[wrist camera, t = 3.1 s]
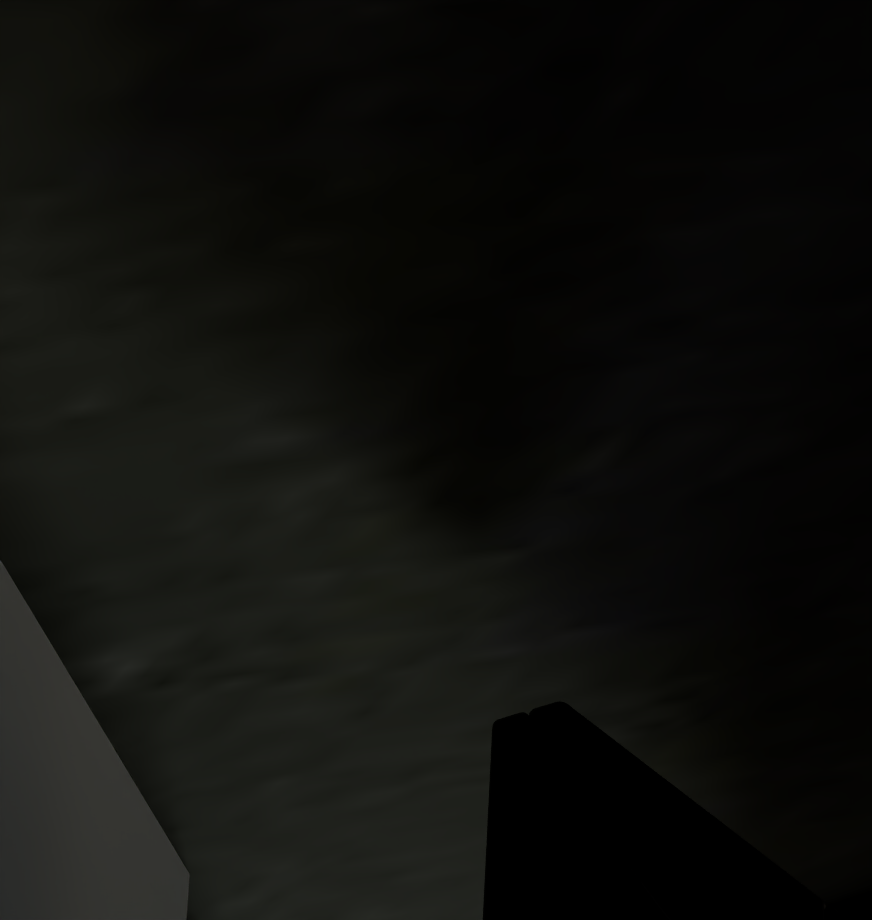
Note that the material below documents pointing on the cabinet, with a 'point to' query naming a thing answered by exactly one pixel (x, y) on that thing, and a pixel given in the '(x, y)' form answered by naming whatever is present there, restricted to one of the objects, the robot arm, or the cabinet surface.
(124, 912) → the block
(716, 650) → the cabinet surface
